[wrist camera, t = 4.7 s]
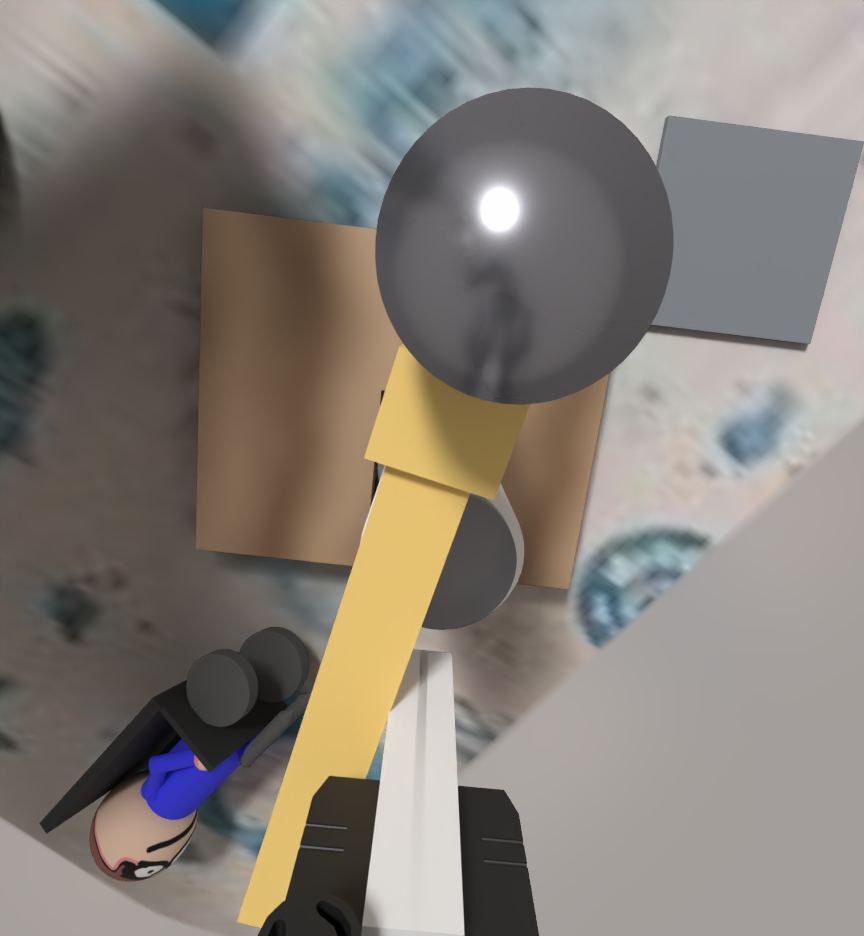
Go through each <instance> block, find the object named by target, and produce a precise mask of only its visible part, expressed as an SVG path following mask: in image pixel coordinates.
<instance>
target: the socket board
mask: <svg viewBox="0 0 864 936" xmlns="http://www.w3.org/2000/svg"><path fill="white" fill-rule="evenodd" d="M376 231H377V229H370V228H362V227H354V226H346V225H338V224H330V223H322V222H314V221H307V220H299V219H291V218H283V217H275V216H267V215H259V214H251V213H243V212H235V211H227V210H219V209H211V208H203V214H202V262H201V310H200V358H199V406H198V454H197V502H196V549H199V550H208V551H217V552H227V553H236V554H245V555H255V556H264V557H273V558H282V559H292V560H301V561H310V562H320V563H329V564H338V565H347V566H353V564H354V561H355V558H356V555H357V552H358V549H359V546H360V541H361V535H362V532H363V529H364V525H365V522H366V519H367V517H368V514H369V511H370V508H371V505H372V502H373V499H374V490H375V480H376V469H377V462H374V461H371V460H368V459H365V458H364V456H365V453H366V450H367V446H368V443H369V440H370V437H371V434H372V431H373V428H374V424H375V421H376V418H377V415H378V412H379V409H380V405H381V402H382V399H383V396H384V390H386V386H387V383H388V380H389V377H390V374H391V371H392V368H393V364H394V361H395V358H396V355H397V352H398V349H399V346H401V345H403V342H402V341H401V339H400V338H399V336H398V335H397V333H396V331H395V329H394V327H393V325H392V323H391V321H390V319H389V318H388V315H387V312H386V309H385V307H384V304H383V301H382V298H381V294H380V290H379V285H378V281H377V273H376V263H375V240H376ZM608 378H609V374H607V375H606V376H604V377H603V378H601V379H600V380H598V381H597V382H595V383H594V384H592V385H590V386H588V387H586V388H584V389H582V390H580V391H578V392H576V393H574V394H571V395H568V396H566V397H563V398H560V399H557V400H552V401H547V402H543V403H536V404H530V406H529V409H528V412H527V414H526V417H525V420H524V422H523V425H522V428H521V430H520V433H519V436H518V438H517V441H516V443H515V446H514V449H513V451H512V454H511V457H510V459H509V462H508V465H507V467H506V470H505V473H504V475H503V478H502V480H501V485H502V487H503V489H504V492H505V494H506V496H507V498H508V500H509V503H510V505H511V507H512V509H513V511H514V514H515V516H516V518H517V520H518V522H519V525H520V528H521V531H522V535H523V540H524V562H523V567H522V571H521V574H520V577H519V579H518V582H517V584H524V585H533V586H542V587H552V588H561V589H569V585H570V580H571V574H572V569H573V564H574V558H575V553H576V548H577V543H578V537H579V532H580V527H581V521H582V516H583V511H584V505H585V500H586V495H587V489H588V484H589V479H590V474H591V468H592V463H593V458H594V452H595V447H596V442H597V436H598V431H599V426H600V420H601V415H602V410H603V405H604V399H605V394H606V389H607V383H608Z"/></svg>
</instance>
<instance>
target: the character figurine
mask: <svg viewBox="0 0 864 936" xmlns="http://www.w3.org/2000/svg"><path fill="white" fill-rule="evenodd" d="M308 670H309V659H308V655H307V651H306V649H305V647H304V645H303V643H302V642H301V640H300V639H299V638H298V637H297V636H296V635H295V634H294V633H292V632H291V631H289V630H287V629H284V628H280V627H270V628H266V629H264V630H262V631H260V632H258V633H256V634H254V635H252V636H251V637H249V638H248V639H247V640H246V641H245V643H244V644H243V646H242V648H241V650H240V653H238V652H235V651H233V650H229V649H220V650H216V651H214V652H211V653H209V654H207V655H205V656H203V657H201V658H200V659H199V660H197V661H196V662H195V663H194V665H193V666H192V667H191V669H190V671H189V674H188V677H187V680H186V681H184V682H182V683H180V684H178V685H176V686H174V687H172V688H171V689H169V690H167V691H165V692H163V693H161V694H159V695H157V696H155V697H153V698H152V699H151V701H150V702H149V703H148V704H147V705H146V706H145V707H144V708H143V709H142V711H141V712H140V713H139V714H138V715H137V716H136V717H135V718H134V719H133V720H132V722H131V723H130V724H129V725H128V726H127V727H126V728H125V729H124V730H123V732H122V733H121V734H120V735H119V736H118V737H117V738H116V739H115V740H114V741H113V743H112V744H111V745H110V746H109V747H108V748H107V749H106V750H105V751H104V753H103V754H102V755H101V756H100V757H99V758H98V759H97V760H96V761H95V763H94V764H93V765H92V766H91V767H90V768H89V769H88V770H87V771H86V772H85V774H84V775H83V776H82V777H81V778H80V779H79V780H78V781H77V782H76V784H75V785H74V786H73V787H72V788H71V789H70V790H69V791H68V792H67V794H66V795H65V796H64V797H63V798H62V799H61V800H60V801H59V802H58V803H57V805H56V806H55V807H54V808H53V809H52V810H51V811H50V812H49V813H48V815H47V816H46V817H45V818H44V819H43V820H42V821H41V822H40V825H41V826H42V828H43V829H44V831H45V832H46V833H48V832H50V831H51V830H53V829H54V828H56V827H57V826H59V825H60V824H62V823H63V822H65V821H66V820H68V819H69V818H70V817H72V816H73V815H75V814H76V813H78V812H79V811H81V810H82V809H84V808H85V807H87V806H88V805H90V804H91V803H93V802H94V801H96V800H97V799H99V798H100V797H102V796H103V795H104V794H106V793H107V792H109V791H110V790H111V791H110V792H109V793H108V794H107V795H106V797H105V798H104V799H103V801H102V802H101V804H100V806H99V807H98V809H97V811H96V813H95V816H94V818H93V821H92V825H91V830H90V848H91V853H92V856H93V858H94V860H95V862H96V864H97V865H98V867H99V868H100V869H101V870H102V871H103V872H104V873H105V874H107V875H108V876H110V877H112V878H114V879H117V880H121V881H140V880H144V879H147V878H150V877H152V876H155V875H157V874H159V873H160V872H162V871H164V870H165V869H167V868H168V867H169V866H170V865H171V864H173V863H174V862H175V861H176V860H177V859H178V858H179V856H180V855H181V854H182V853H183V851H184V850H185V849H186V847H187V845H188V844H189V842H190V840H191V838H192V836H193V833H194V830H195V827H196V823H197V816H198V807H199V806H200V805H201V804H202V803H203V802H204V801H205V800H206V799H207V798H208V796H209V795H210V794H211V793H212V792H213V791H214V790H215V789H216V788H217V787H218V786H219V785H220V784H221V783H222V782H223V781H224V780H225V779H226V778H227V777H228V776H229V775H230V774H231V773H232V772H233V771H234V770H235V769H236V768H237V767H238V766H239V765H240V764H241V765H243V766H245V767H249V766H250V765H251V764H252V763H253V762H254V761H255V760H256V759H257V758H258V757H259V756H260V755H261V754H262V753H263V752H264V751H265V750H266V749H267V748H268V747H269V746H270V745H272V744H273V743H274V742H275V741H276V740H277V739H278V738H279V737H280V736H281V735H282V734H283V733H284V732H285V731H286V730H287V729H288V728H289V726H290V725H291V724H292V723H293V722H294V721H295V720H296V719H297V718H298V717H299V716H300V715H301V714H302V713H303V712H304V711H305V710H306V708H307V705H308V702H309V699H310V696H311V693H312V692H309V693H304V694H299V695H298V697H297V698H296V699H295V700H294V701H293V702H292V703H291V704H290V705H289V706H287V705H286V704H285V703H284V702H283V700H285V699H287V698H289V697H290V696H291V695H293V694H294V693H295V692H296V691H298V690H299V689H300V688H301V687H302V685H303V684H304V682H305V680H306V678H307V675H308ZM177 734H178V735H179V736H180V737H181V738H182V739H181V740H180V741H179V742H178V743H177V744H176V745H175V746H174V747H173V748H172V750H171V751H170V752H169V753H167V754H162V755H158V754H159V753H160V752H161V751H162V750H163V749H164V748H165V747H166V746H167V745H168V744H169V743H170V741H171V740H172V739H173V738H174V737H175V736H176V735H177ZM147 765H149V770H145V771H141V772H138V771H140V770H141V769H143V768H144V767H146V766H147ZM137 772H138V773H137ZM135 773H136V774H135Z"/></svg>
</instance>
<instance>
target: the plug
mask: <svg viewBox="0 0 864 936" xmlns="http://www.w3.org/2000/svg"><path fill="white" fill-rule="evenodd" d="M385 466H386V465H383V464H380V463H378V478H379V484H378V487H377V490H376V493H375V496H374V499H373V502H372V505H371V508H370V511H369V514H368V517H367V519H366V522H365V525H364V529H363V532H362V535H361V540H362V537H363V534H364V531H365V528H366V524H367V521H368V518H369V515H370V512H371V509H372V506H373V503H374V500H375V497H376V494H377V491H378V488H379V485H380V482H381V479H382V476H383V472H384V469H385ZM360 543H361V541H360ZM523 562H524V540H523V535H522V531H521V528H520V525H519V522H518V520H517V518H516V516H515V514H514V511H513V509H512V507H511V505H510V503H509V500H508V498H507V496H506V494H505V492H504V489H503V487H502V485H501V483H500V486H499V488H498V491H497V494H496V496H495V499H494V500H491V499H488V498H485V497H482V496H479V495H475V494H472V493H470V495H469V498H468V501H467V504H466V506H465V509H464V512H463V514H462V517H461V520H460V523H459V525H458V528H457V531H456V534H455V536H454V539H453V542H452V544H451V547H450V550H449V553H448V555H447V558H446V561H445V563H444V566H443V569H442V572H441V574H440V577H439V580H438V583H437V585H436V588H435V591H434V593H433V596H432V599H431V602H430V604H429V607H428V610H427V613H426V615H425V618H424V621H423V623H422V626H421V627H424V628H429V629H439V630H446V629H455V628H460V627H464V626H467V625H470V624H473V623H475V622H477V621H479V620H481V619H482V618H484V617H486V616H487V615H489V614H490V613H492V612H493V611H494V610H496V609H497V608H498V607H499V606H500V605H501V604H502V603H503V602H504V601H505V600H506V599H507V598H508V596H509V595H510V594H511V592H512V591H513V589H514V587H515V585H516V584H517V582H518V579H519V577H520V574H521V571H522V567H523Z"/></svg>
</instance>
